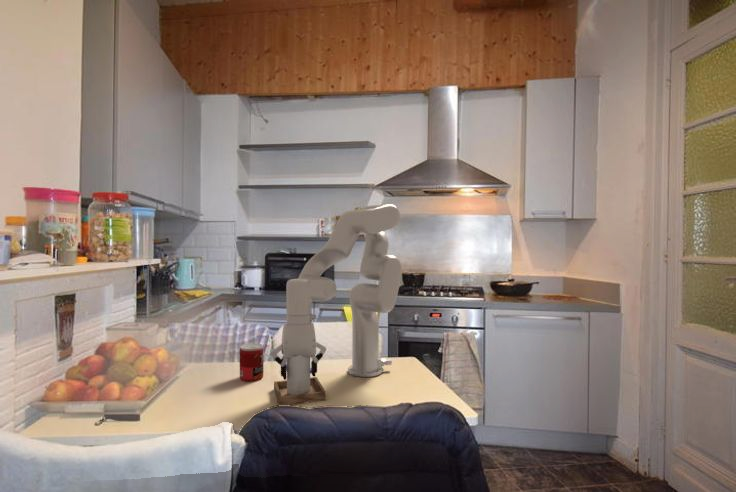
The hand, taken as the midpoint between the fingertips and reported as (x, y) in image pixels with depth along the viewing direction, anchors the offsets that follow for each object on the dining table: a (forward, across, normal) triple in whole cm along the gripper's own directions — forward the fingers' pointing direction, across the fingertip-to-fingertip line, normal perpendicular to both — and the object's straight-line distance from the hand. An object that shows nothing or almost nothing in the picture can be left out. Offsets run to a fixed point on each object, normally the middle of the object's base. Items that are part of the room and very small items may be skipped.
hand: (299, 376), depth 122 cm
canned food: (+6, +13, -20) cm, 25 cm away
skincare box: (+5, 0, 0) cm, 5 cm away
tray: (+6, 0, 0) cm, 6 cm away
